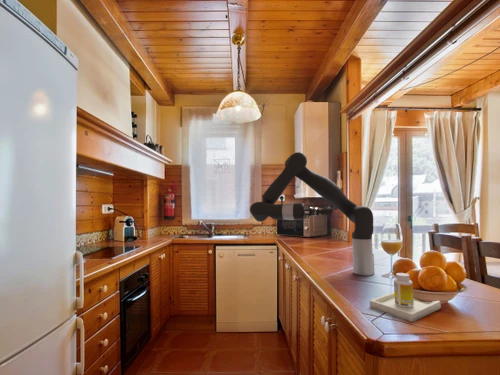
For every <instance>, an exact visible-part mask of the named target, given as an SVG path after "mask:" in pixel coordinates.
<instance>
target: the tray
mask: <svg viewBox="0 0 500 375" xmlns="http://www.w3.org/2000/svg"><path fill="white" fill-rule="evenodd" d="M413 299H414V306H413V307H410V308H406V307H401V306H398V305H397V304H396V303H395V294H394V291H392V292H389V293H386V294H384V295H380V296H377V297H375V298H372V299H369V308H371V309H375V310H378V311H381V312H384V313H386V314H389V315H391V316H395V317H398V318H400V319H403V320H406V321H409V322H411V323H413V322H415V321H418V320H420V319H422V318H424V317H426V316H428V315H431V314H432V313H434V312H436V311H438V310H440V309H441V308H442V303H441V301H440V300H437V301H432V302H421V301H419V300H417V299H415V298H413Z"/></svg>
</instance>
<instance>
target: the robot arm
mask: <svg viewBox="0 0 500 375" xmlns="http://www.w3.org/2000/svg"><path fill="white" fill-rule="evenodd" d="M307 164H308V159H307V156H306V155H305V154H304V153H302V152H301V151H300V152H299V151H298V152H294V153H292V154H291V155H289V156H288V157H287V158H286V160H285V161H284V166H285V167H284V169H283V170H282V171H281V173H280V174H279V175H278V176H277V177H276V178H275V179H274V181H273V182H272V183H271V184H270V185H269V186H268V188H267V189H266V190H265V191H264V193H263V194H262V195H261V198H262V201H256V202H253V203H252V204H251V205H250V206H249V212H250V214H251V216H252V217H253V218H254V220H255V221H257V222H259V223H262V222H264V221H266V220H267V219H268V217H269V218H271V219H273V220H286V221H304V220H305V219H306V216H308V217H316V216H317V217H318V216H323V215H325V216H326V215H329V216H330V215H331V214H333V208H323V207H319V206H317V207H316V206H315V207H314V206H308V207H307V208H306V205H305V203H303V202H299V203H298V202H296V203H295V202H294V203H293V202H289V203H277V201H279V199H280V198H281V196H282V195H283V193H284V192H285V190H286V189H287V187H288V186H289V185H290V184H291V182H292V181H293V180H294V178H295V177H296V179H298V180H300V181H302V182H304V183H305V185H307V186H308V187H310V188H311V189H312V190H314V192H316V193H317V194H318V195H319V196H320V197H322V198H323V199H324V200H325V201H327V202H328V203H330V205H332V206H333V207H335V208H337V209H338V211H340V212H341V213H343V215H345V217H346V218H347V219H348V220H349V221H351V222H352V223H353V224H354V231H352V233H351V243H352V244H351V245H352V267H353V269H352V270H353V273H354V274H355V275H359V276H368V277H369V276H373V275H374V274H375V272H376V271H375V255H374V252H373V249H374V248H373V235H374V234H373V233H374V214H373V211H372V209H370V208H369V207H368V206H361V205H360V206H359V205H357V204H356V203H354V202H353V201H352V200H350V199H349V198H348V197H347V196H346V194H345V193H344V191H343V190H342V189H341V187H339V186H338V185H337V184H336V183H335V182H334V181H332V180H331V179H329V178H328V177H326V176H324V175H321V174H319V173H316V172H314V171H312V170H311V169H310V168H308V167H307Z"/></svg>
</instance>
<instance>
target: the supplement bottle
mask: <svg viewBox="0 0 500 375" xmlns="http://www.w3.org/2000/svg"><path fill="white" fill-rule="evenodd" d="M413 288H414V285H413V281H412V280H411V278H410V274H408V273H405V272H397V273H396V274H395V278H394V280H393V289H394V291H393V292H394V294H395V303H396V304H397V305H398V306H401V307H406V308H410V307H413V306H414V299H413V294H414V289H413Z"/></svg>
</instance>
